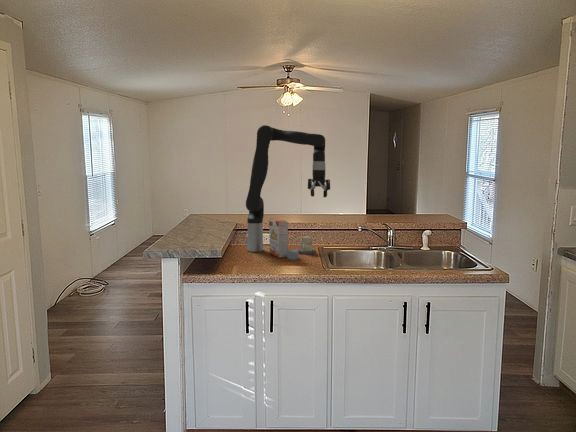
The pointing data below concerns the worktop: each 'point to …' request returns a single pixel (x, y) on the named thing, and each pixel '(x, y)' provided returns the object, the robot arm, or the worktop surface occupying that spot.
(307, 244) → the birch block
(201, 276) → the worktop surface
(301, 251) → the charcoal pad
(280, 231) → the cracker box
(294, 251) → the slate cube
